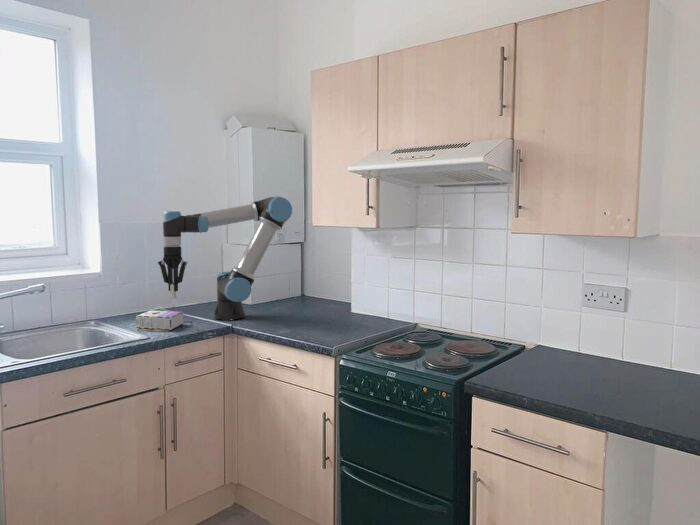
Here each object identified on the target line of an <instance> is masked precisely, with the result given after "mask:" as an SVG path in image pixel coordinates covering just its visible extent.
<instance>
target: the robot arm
mask: <svg viewBox="0 0 700 525" xmlns="http://www.w3.org/2000/svg"><path fill="white" fill-rule="evenodd" d="M292 215H293V206H292V204H291V202H290V201H289V199H287V198H285V197H283V196H271V197H267V198H263V199H260V200H256V201H252V202H251V203H250V204H246V205H240V206H235V207H229V208H224V209H217V210H216V209H215V210H211V211H206V212H200V213H195V214H187V215H182V214H181V211H176V210H175V211H174V210H173V211H172V210H170V211H169V210H166V211H164V212H163V214H162V217H163V221H162V230H163V232H162V234H163V257H162V259H161V260H159V261H158V262H157V264H158V266H159V268H160V271H161V274H162V278H163V283H167V285H168V291H169V292H170V299H171V300H175V299H177V292H178V291H179V284H180V283H182V282H183V278H184V274H185V270H186V267H187V265H188V261H185V260H184V259H183V257H182V247H181V245H182V233H200V234H201V233H208V231H209V229H210V228H215V227H219V226H220V227H222V226H226V225H231V224H232V225H233V224H237V223H242V222H247V221H253V220H254V221H255V222H259V224H258V226H257V228H256V230H255V232H254V234H253V235H252V238H251V239H250V242H249V243H248V246H246V249H245V251H244V253H243V255H242V257H241V258H240V260H239V263H238V264H237V266H236V267H234V268H231V270H230V271H219V272H217V273H216V274H217V275H216V287H217V288H216V289H217V290H216V291H217V292H216V293H217V295H216V296H217V297H216V300H217V301H216V302H217V303H216V307H215V309H214V312H213V318H215V319H214V320H217V319H222V320H221V321H231V320H230V319H239V320H241V319H240V318H243V317H245V318H246V310H245V309H244V306H243V302H245V301H246V300H247V299H248V298H249V297H250V296H251V293H252V286H253V284H254V282H255V277H254V275H255V273H256V271H257V269H258V267H259V265H260V263H261V261H262V259H263V257H265V254H266V252H267V250H268V248H269V246H270V244H271V242H272V240H273V238H274V237H275V235H276V233H277V231H280V230H282V228H283V227H284V224H285V222H287V221H288V220H290V218H291V217H292ZM179 266H180V267H179ZM243 319H244V318H243Z"/></svg>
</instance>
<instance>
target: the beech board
mask: <svg viewBox="0 0 700 525" xmlns="http://www.w3.org/2000/svg"><path fill="white" fill-rule="evenodd" d="M136 330H137V331H138V332H159V331H167V332H166V333H168V332H170V331H171V330H162V329H144V328H136Z"/></svg>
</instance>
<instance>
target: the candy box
mask: <svg viewBox="0 0 700 525" xmlns="http://www.w3.org/2000/svg"><path fill="white" fill-rule="evenodd" d="M183 320H184V311H178V310H177V311H176V310H175V311H173V310H148V311H145V312H143V313H140V314H137V315H136V316H135V329H139V328H144V329H162V330H170V331H172V330H174V329H177V328H178V327H179V326H182V325H183V324H184V323H183Z"/></svg>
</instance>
